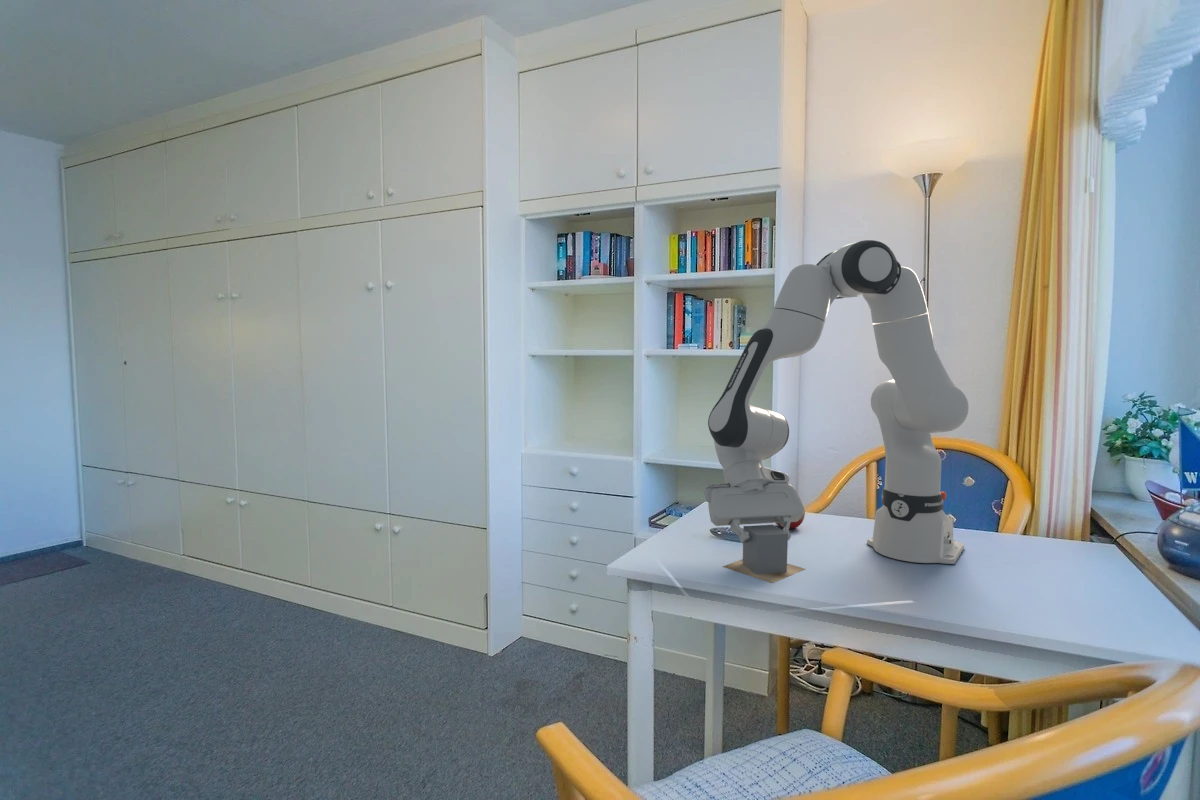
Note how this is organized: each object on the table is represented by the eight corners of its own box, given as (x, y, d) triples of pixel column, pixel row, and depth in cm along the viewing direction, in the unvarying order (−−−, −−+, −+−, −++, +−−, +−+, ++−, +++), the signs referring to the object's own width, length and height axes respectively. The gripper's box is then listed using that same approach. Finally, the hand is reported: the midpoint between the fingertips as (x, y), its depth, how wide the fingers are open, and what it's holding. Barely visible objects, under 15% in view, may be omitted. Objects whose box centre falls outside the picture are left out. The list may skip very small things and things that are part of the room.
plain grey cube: (742, 563, 131) (743, 526, 131) (771, 561, 132) (772, 524, 132) (756, 574, 125) (757, 535, 124) (786, 572, 126) (787, 533, 125)
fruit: (796, 523, 164) (797, 493, 163) (808, 532, 156) (809, 500, 155) (766, 523, 163) (767, 493, 163) (777, 532, 155) (778, 500, 155)
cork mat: (756, 556, 137) (756, 554, 137) (805, 570, 128) (805, 568, 128) (722, 568, 129) (722, 566, 129) (772, 585, 120) (772, 583, 120)
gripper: (705, 476, 132) (722, 535, 123) (794, 473, 136) (817, 530, 127) (698, 492, 137) (713, 550, 128) (784, 489, 141) (805, 544, 132)
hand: (766, 540), depth 127 cm, fingers open, 8 cm apart
